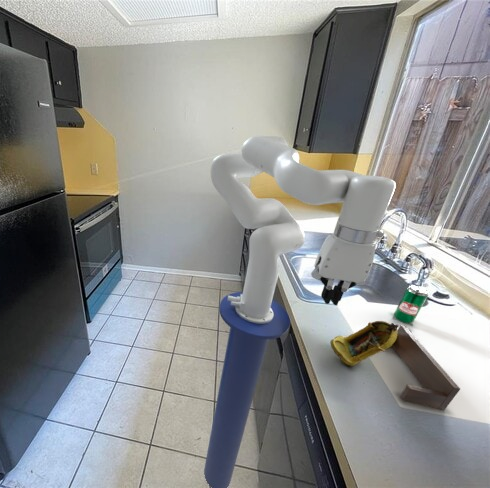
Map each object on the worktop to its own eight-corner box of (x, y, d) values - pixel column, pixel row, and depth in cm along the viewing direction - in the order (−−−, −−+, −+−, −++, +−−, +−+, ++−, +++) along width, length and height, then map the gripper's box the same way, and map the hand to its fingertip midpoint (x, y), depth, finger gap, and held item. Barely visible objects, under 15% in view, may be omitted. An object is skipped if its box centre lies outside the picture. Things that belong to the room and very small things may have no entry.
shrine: (377, 361, 69) (400, 316, 63) (377, 382, 63) (403, 335, 57) (328, 340, 75) (345, 298, 69) (325, 358, 69) (342, 313, 63)
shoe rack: (402, 400, 59) (416, 379, 56) (363, 338, 77) (372, 320, 74) (444, 410, 57) (460, 389, 54) (395, 344, 75) (405, 325, 72)
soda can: (391, 318, 86) (406, 288, 81) (394, 312, 89) (409, 282, 84) (411, 326, 82) (428, 295, 77) (413, 319, 86) (430, 289, 81)
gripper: (385, 231, 59) (357, 298, 66) (311, 223, 62) (293, 288, 69) (404, 244, 52) (371, 316, 59) (321, 235, 55) (299, 304, 63)
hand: (329, 301), depth 64 cm, fingers closed
